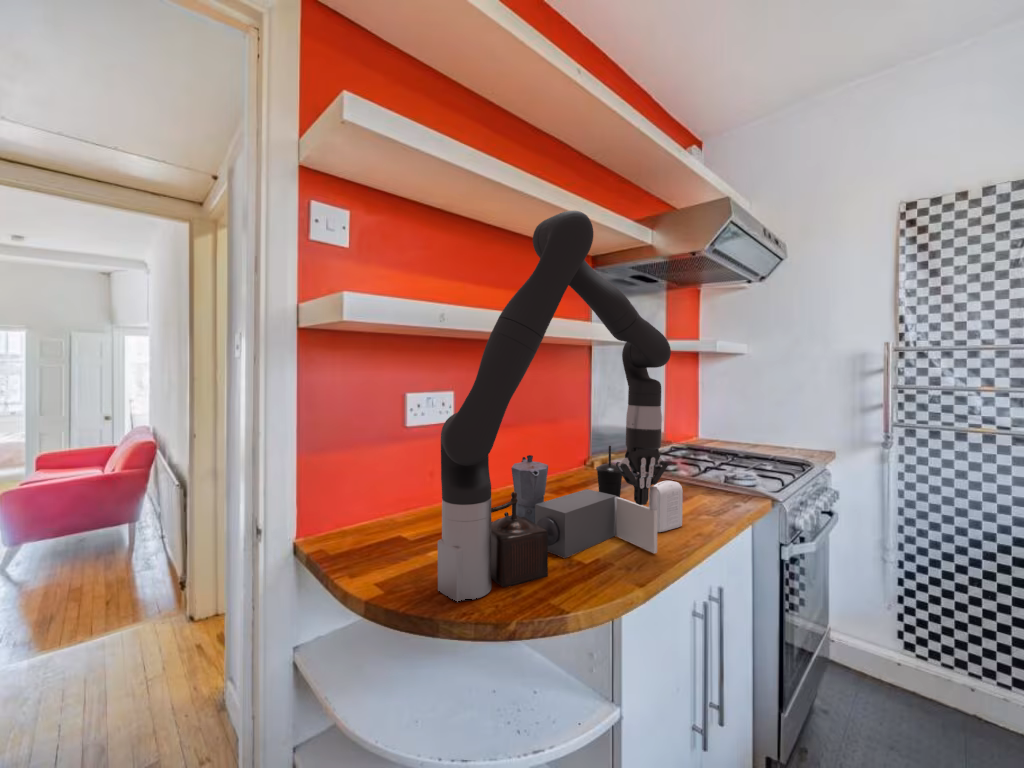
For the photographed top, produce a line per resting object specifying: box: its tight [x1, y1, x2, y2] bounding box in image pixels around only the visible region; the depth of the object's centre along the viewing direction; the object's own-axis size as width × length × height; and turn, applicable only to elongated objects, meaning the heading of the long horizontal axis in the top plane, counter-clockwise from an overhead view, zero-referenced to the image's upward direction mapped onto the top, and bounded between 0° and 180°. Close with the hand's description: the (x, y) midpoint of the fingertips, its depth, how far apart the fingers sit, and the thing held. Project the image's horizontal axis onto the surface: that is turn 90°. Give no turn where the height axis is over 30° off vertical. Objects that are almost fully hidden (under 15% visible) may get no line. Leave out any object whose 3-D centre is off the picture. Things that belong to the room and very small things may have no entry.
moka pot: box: [511, 454, 549, 523], centre depth 113 cm, size 10×15×20 cm, turn 15°
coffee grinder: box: [491, 491, 549, 588], centre depth 89 cm, size 16×11×18 cm
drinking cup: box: [595, 445, 623, 498], centre depth 126 cm, size 8×8×20 cm
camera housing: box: [535, 488, 616, 559], centre depth 106 cm, size 21×9×10 cm, turn 134°
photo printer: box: [648, 480, 684, 533], centre depth 116 cm, size 10×4×12 cm, turn 123°
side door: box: [614, 485, 658, 554], centre depth 104 cm, size 13×2×14 cm, turn 29°
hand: (641, 503), depth 98 cm, fingers closed
